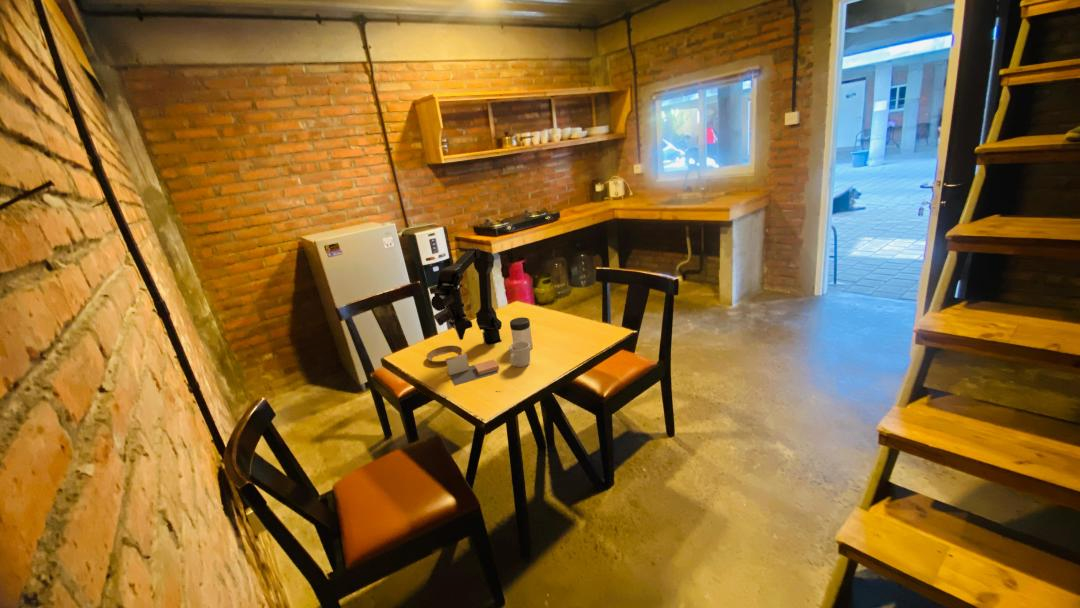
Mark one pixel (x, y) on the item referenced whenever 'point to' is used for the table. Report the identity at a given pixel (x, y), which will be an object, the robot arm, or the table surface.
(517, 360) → the cup
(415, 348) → the table surface
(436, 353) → the brown ring
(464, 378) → the mat
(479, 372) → the tile
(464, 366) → the tile
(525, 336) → the jar
